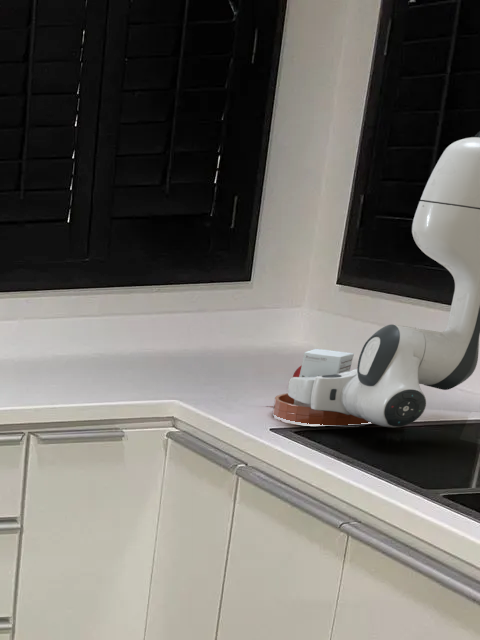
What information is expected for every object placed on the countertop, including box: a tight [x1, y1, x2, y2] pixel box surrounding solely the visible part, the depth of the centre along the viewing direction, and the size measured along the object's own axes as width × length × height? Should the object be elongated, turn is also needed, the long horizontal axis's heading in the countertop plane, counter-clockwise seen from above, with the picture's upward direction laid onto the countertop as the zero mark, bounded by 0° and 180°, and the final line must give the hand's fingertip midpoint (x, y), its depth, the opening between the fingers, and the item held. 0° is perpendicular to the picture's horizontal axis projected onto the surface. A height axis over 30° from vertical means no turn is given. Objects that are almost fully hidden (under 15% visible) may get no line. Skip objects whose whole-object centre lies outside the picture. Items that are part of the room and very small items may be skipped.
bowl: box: [272, 392, 368, 425], centre depth 239 cm, size 18×18×4 cm
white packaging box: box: [294, 348, 355, 407], centre depth 240 cm, size 7×7×13 cm
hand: (326, 380), depth 238 cm, fingers open, 8 cm apart
